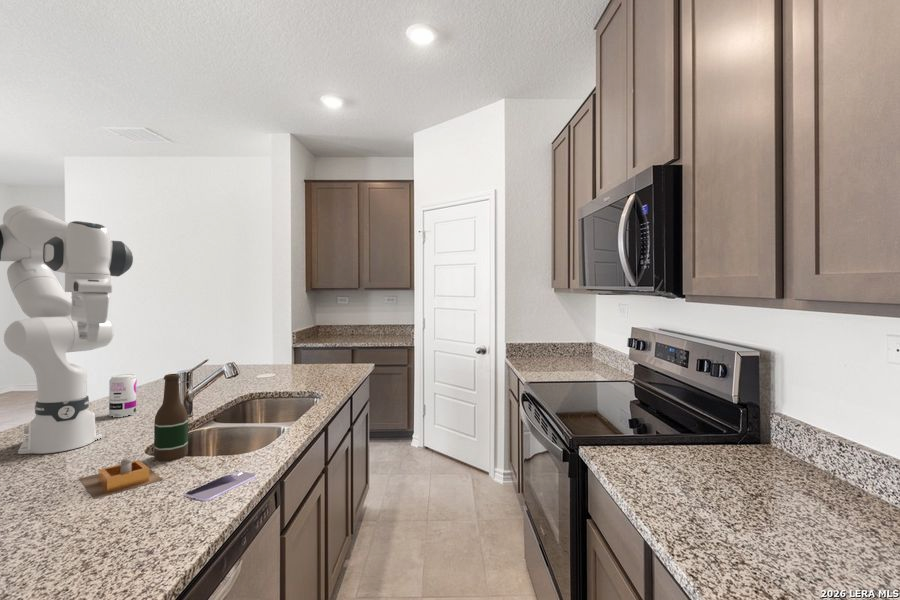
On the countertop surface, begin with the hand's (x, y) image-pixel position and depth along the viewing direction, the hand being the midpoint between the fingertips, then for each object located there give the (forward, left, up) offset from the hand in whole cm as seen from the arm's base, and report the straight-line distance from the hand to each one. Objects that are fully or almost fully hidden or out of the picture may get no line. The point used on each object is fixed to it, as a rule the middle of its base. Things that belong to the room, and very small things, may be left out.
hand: (87, 340), depth 108 cm
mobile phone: (+32, +20, -35) cm, 51 cm away
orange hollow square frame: (+16, +4, -33) cm, 37 cm away
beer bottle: (+6, +17, -34) cm, 39 cm away
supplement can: (-59, +21, -34) cm, 71 cm away
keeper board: (+14, +4, -34) cm, 37 cm away
